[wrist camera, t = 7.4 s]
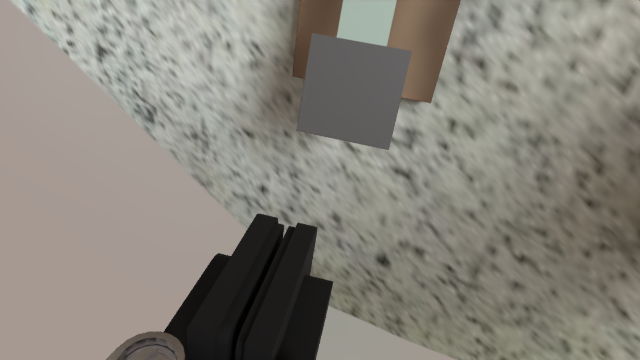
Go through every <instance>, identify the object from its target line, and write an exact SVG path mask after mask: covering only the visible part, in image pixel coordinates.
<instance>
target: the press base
mask: <svg viewBox="0 0 640 360" xmlns="http://www.w3.org/2000/svg"><path fill="white" fill-rule="evenodd" d="M342 4H343V0H300V8H299V17H298V27H297V37H296V46H295V56H294V66H293V75H292V76H294V77H299V78H304V79H305V75H306V68H307V62H308V56H309V49H310V43H311V37H312V33H315V34H321V35H326V36H332V37H337V32H338V27H339V21H340V15H341V10H342ZM459 4H460V0H397V2H396V7H395V12H394V16H393V21H392V25H391V30H390V35H389V39H388V44H387V47H392V48H398V49H403V50H409V51H412V54H411V58H410V62H409V67H408V71H407V75H406V79H405V83H404V88H403V92H402V96H401V97H402V98H407V99H412V100H417V101H422V102H428V103H431V100H432V97H433V93H434V90H435V87H436V83H437V80H438V76H439V73H440V69H441V66H442V62H443V59H444V56H445V52H446V49H447V45H448V42H449V38H450V35H451V31H452V28H453V24H454V21H455V18H456V14H457V11H458V7H459Z"/></svg>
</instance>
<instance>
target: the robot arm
mask: <svg viewBox="0 0 640 360" xmlns="http://www.w3.org/2000/svg"><path fill="white" fill-rule="evenodd" d="M283 232H284V225H282V224H278V218H276V217H272V216H267V215H263V214H257V215H256V217H255V218H254V220H253V221H252V223H251V225H250V226H249V228H248V230H247V231H246V233H245V234H244V236H243V238H242V239H241V241H240V243H239V244H238V246H237V248H236V249H235V251H234V252H233V254H232V256H228V255H224V254H220V253H218V254H217V255H215V257H214V258H213V259H212V261H211V262H210V264H209V265H208V266H207V268H206V269H205V271H204V272H203V274H202V275H201V277H200V278H199V280H198V281H197V283H196V285H195V286H194V287H193V289H192V290H191V292H190V293H189V295H188V297H187V298H186V299H185V301H184V302H183V304H182V305H181V307H180V308H179V310H178V311H177V313H176V314H175V316H174V317H173V319H172V320H171V322H170V323H169V325H168V326H167V328H166V329H165V331H164V332H146V333H143V334H138V335H136V336H134V337H132V338H130V339H128V340H126V341H125V342H124V343H123V344H121V345H120V346H119V347H118V348H117V349H116V350H115V351H114V352H113V353H112V354H111V355H110V356H109V357H108V358H107V359H106V360H316V356H317V352H318V348H319V343H320V339H321V335H322V331H323V327H324V322H325V318H326V313H327V309H328V304H329V300H330V295H331V290H332V285H333V282H332V281H328V280H324V279H320V278H316V277H312V276H310V271H311V265H312V259H313V253H314V247H315V241H316V235H317V227H314V226H310V225H306V224H301V223H297V225H296V228H295V227H291V226H289V227H288V229H287V231H286V234H285V236H284V238H283Z"/></svg>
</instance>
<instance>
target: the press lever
mask: <svg viewBox="0 0 640 360" xmlns="http://www.w3.org/2000/svg"><path fill="white" fill-rule="evenodd" d="M396 2H397V0H343V4H342V10H341V15H340V21H339V27H338V32H337V37H332V36H326V35H321V34H315V33H312V37H311V43H310V49H309V56H308V62H307V68H306V75H305V81H304V87H303V94H302V100H301V106H300V112H299V119H298V125H297V131H301V132H305V133H310V134H315V135H320V136H324V137H329V138H334V139H339V140H344V141H348V142H353V143H358V144H363V145H368V146H372V147H377V148H382V149H387V150H389V146H390V142H391V138H392V134H393V130H394V125H395V121H396V117H397V113H398V109H399V104H400V100H401V96H402V92H403V88H404V83H405V79H406V75H407V71H408V67H409V62H410V58H411V54H412V51H409V50H403V49H398V48H392V47H387V44H388V39H389V35H390V30H391V25H392V21H393V16H394V12H395V7H396Z"/></svg>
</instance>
